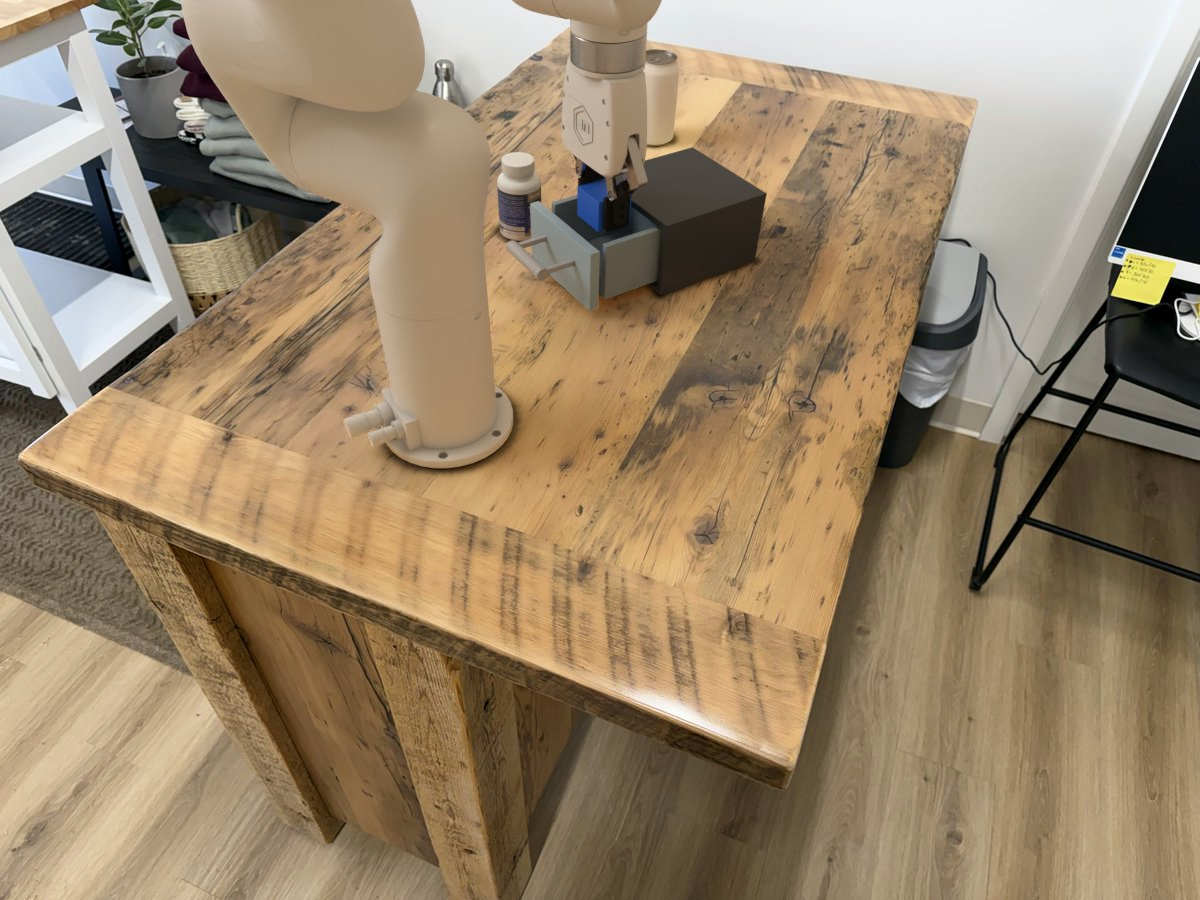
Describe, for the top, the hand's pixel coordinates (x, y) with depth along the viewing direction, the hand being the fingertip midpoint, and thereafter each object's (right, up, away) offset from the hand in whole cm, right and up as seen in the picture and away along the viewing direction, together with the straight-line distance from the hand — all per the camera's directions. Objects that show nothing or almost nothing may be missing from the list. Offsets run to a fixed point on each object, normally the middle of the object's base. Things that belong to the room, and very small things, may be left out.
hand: (603, 216), depth 95 cm
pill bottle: (-11, +1, +13) cm, 16 cm away
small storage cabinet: (+9, -2, +10) cm, 13 cm away
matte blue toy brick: (0, 0, 0) cm, 0 cm away
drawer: (-2, -6, +4) cm, 7 cm away
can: (+8, +21, +33) cm, 40 cm away
